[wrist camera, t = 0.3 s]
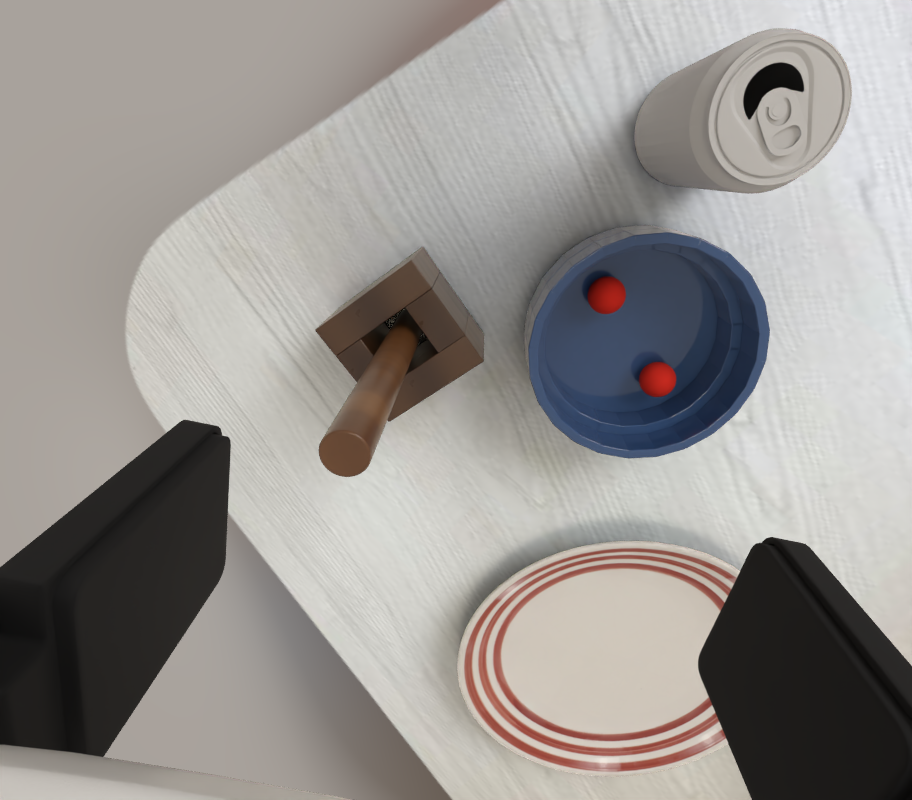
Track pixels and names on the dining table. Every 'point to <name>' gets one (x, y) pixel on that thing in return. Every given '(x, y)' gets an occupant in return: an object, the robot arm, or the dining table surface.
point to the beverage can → (746, 114)
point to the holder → (432, 308)
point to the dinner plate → (599, 658)
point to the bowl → (645, 341)
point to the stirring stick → (370, 402)
